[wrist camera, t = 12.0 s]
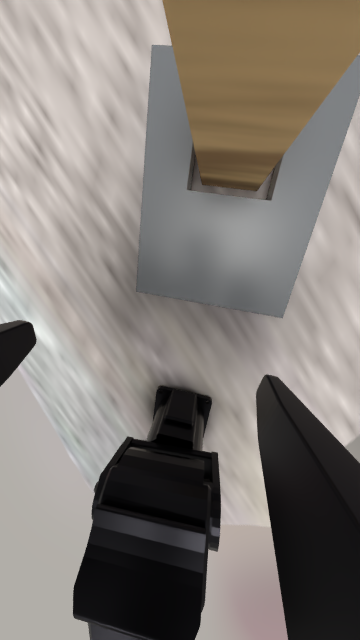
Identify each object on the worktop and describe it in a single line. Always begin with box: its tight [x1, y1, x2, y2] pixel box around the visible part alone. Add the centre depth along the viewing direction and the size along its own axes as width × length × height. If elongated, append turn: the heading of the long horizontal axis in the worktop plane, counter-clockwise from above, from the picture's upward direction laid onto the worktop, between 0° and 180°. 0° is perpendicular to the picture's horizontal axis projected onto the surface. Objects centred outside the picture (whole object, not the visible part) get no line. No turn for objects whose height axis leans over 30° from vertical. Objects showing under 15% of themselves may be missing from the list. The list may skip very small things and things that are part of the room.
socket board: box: [136, 45, 360, 318], centre depth 16 cm, size 16×13×2 cm
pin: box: [163, 0, 360, 191], centre depth 9 cm, size 4×4×14 cm
